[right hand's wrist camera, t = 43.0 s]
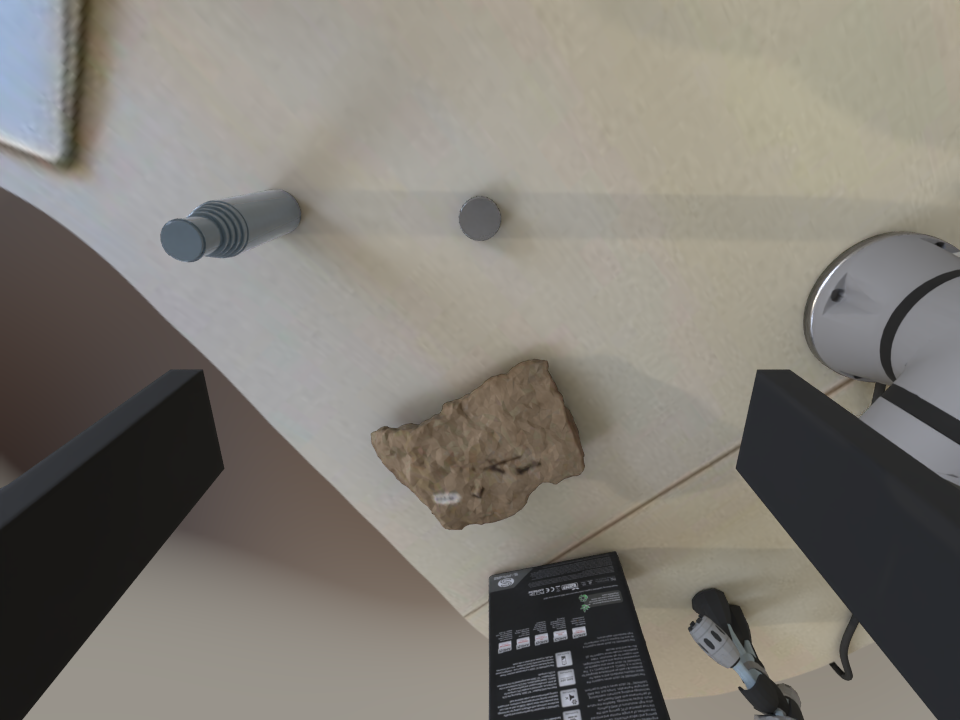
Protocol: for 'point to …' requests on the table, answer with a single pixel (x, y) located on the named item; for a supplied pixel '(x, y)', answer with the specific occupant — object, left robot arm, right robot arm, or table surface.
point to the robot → (740, 655)
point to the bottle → (231, 225)
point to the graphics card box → (569, 645)
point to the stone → (486, 448)
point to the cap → (479, 218)
